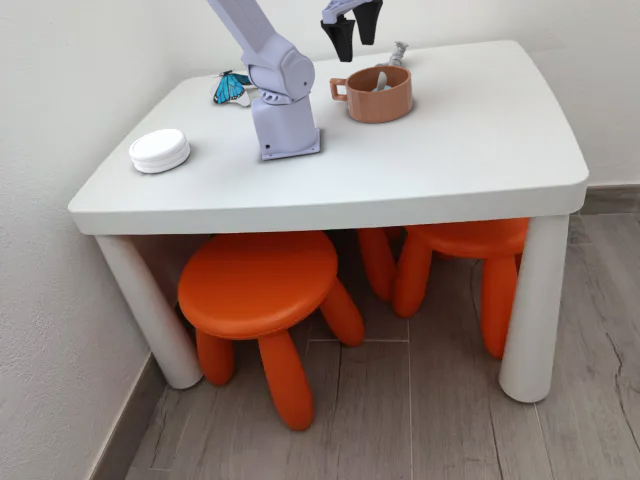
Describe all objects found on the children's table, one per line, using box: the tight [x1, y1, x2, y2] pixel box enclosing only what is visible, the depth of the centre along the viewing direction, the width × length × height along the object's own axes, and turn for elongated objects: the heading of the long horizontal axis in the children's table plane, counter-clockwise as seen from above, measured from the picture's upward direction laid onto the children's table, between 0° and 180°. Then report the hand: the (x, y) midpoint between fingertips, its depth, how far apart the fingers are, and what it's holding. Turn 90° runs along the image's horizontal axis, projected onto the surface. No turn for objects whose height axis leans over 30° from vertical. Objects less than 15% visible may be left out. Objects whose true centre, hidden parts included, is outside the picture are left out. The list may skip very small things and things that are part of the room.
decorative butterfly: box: [209, 68, 254, 107], centre depth 104 cm, size 10×6×10 cm
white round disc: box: [128, 128, 191, 174], centre depth 88 cm, size 10×10×4 cm
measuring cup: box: [329, 65, 414, 124], centre depth 90 cm, size 15×11×6 cm
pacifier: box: [371, 72, 391, 92], centre depth 88 cm, size 7×6×6 cm
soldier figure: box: [375, 40, 410, 67], centre depth 101 cm, size 8×5×12 cm
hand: (357, 52), depth 87 cm, fingers open, 7 cm apart
